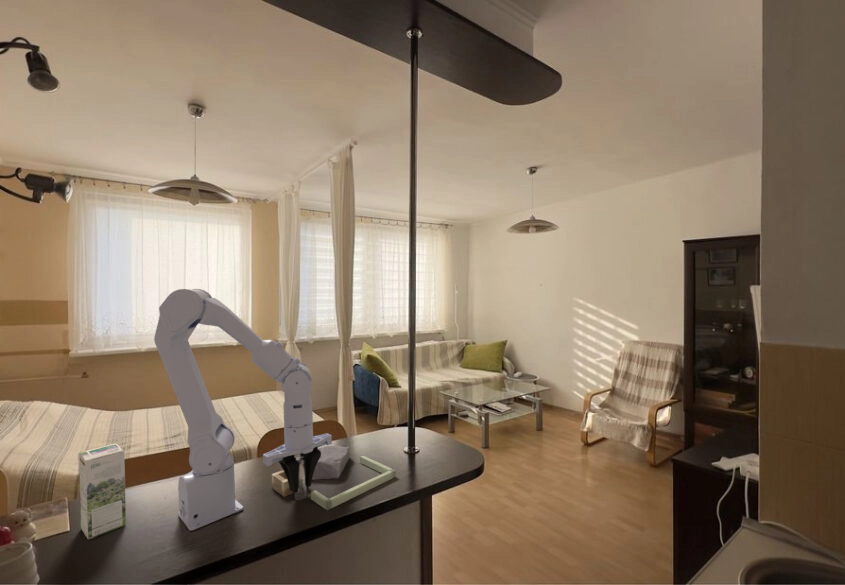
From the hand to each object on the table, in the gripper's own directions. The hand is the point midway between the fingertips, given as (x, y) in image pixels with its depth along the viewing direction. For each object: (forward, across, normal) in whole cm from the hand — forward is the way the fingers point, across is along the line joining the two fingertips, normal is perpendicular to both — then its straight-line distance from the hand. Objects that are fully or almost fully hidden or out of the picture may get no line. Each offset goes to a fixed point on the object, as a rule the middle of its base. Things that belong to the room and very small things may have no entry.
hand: (300, 487), depth 82 cm
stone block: (+2, +11, +8) cm, 14 cm away
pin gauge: (+2, 0, 0) cm, 2 cm away
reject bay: (+2, +10, -2) cm, 10 cm away
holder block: (+2, 0, +6) cm, 6 cm away
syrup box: (+2, -30, +18) cm, 35 cm away
